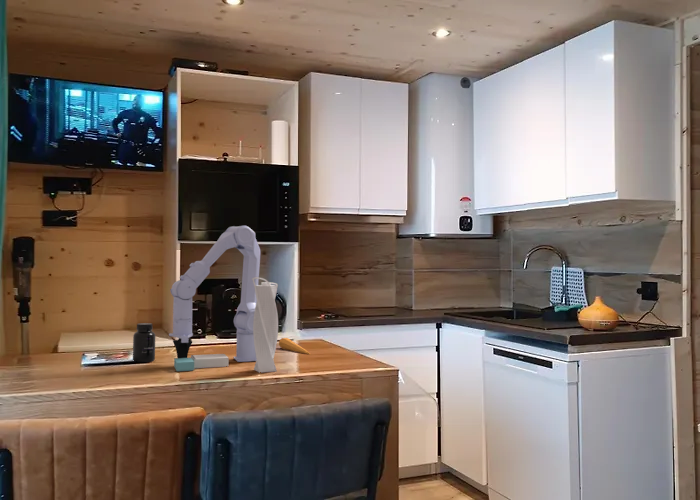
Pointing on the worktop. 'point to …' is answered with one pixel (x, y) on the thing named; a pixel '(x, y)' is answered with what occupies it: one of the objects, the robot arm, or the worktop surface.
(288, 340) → the carrot
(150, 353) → the supplement bottle
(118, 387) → the worktop surface
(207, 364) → the gray rectangular block
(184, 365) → the stub
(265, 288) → the skyscraper
